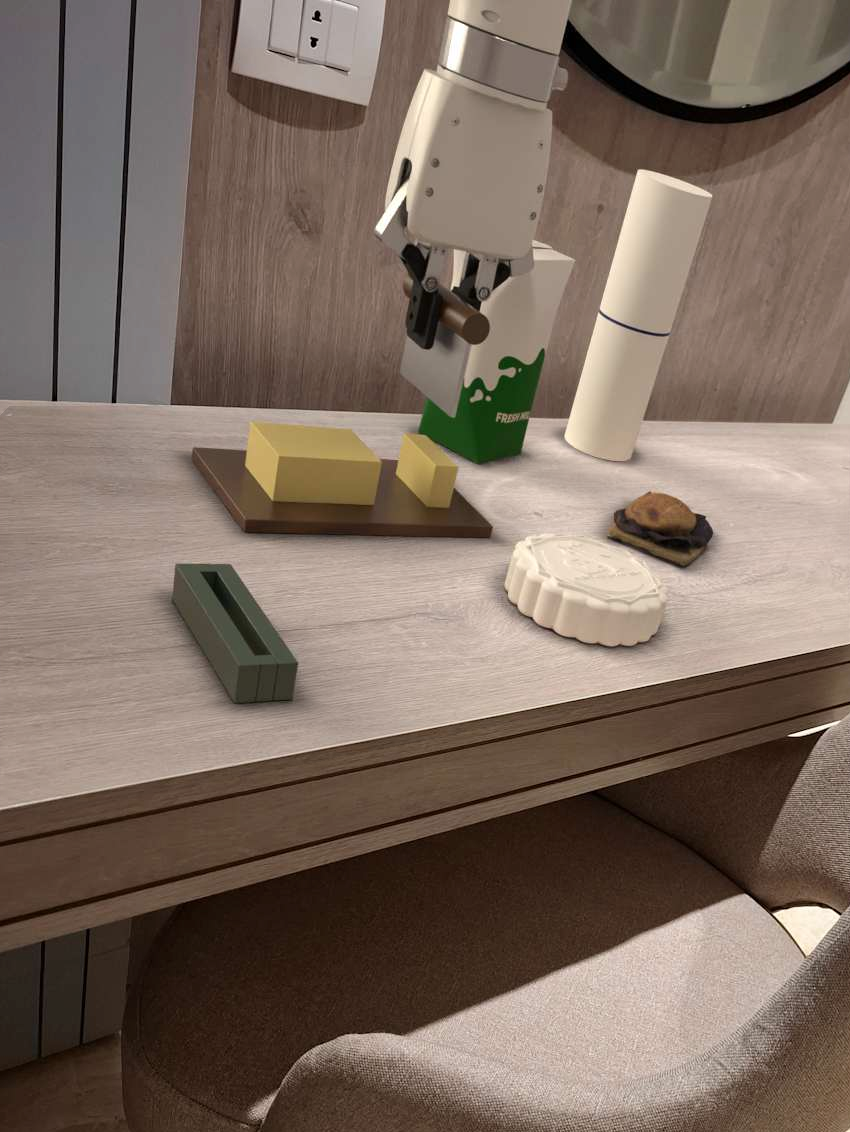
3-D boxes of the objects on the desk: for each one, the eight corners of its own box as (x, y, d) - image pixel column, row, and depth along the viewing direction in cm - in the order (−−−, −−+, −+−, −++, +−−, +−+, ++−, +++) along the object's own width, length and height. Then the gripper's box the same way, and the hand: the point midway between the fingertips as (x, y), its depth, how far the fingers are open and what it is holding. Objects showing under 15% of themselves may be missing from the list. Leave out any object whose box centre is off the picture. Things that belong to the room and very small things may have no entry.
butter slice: (426, 507, 93) (436, 465, 91) (395, 474, 97) (403, 433, 95) (449, 508, 94) (458, 466, 92) (417, 475, 98) (425, 434, 96)
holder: (234, 703, 66) (239, 665, 64) (171, 599, 73) (175, 562, 71) (293, 700, 68) (299, 662, 66) (226, 598, 75) (230, 563, 73)
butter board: (244, 532, 83) (245, 519, 82) (191, 459, 90) (192, 446, 89) (490, 537, 94) (493, 526, 94) (426, 472, 102) (428, 461, 101)
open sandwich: (687, 573, 101) (702, 534, 99) (598, 535, 102) (610, 495, 100) (717, 538, 110) (731, 501, 107) (634, 503, 110) (646, 466, 108)
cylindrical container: (555, 441, 118) (628, 170, 105) (576, 426, 124) (649, 168, 111) (620, 467, 118) (703, 198, 104) (639, 450, 124) (719, 194, 110)
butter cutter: (442, 418, 86) (466, 311, 82) (386, 369, 93) (405, 267, 89) (468, 421, 88) (493, 315, 84) (411, 372, 94) (431, 272, 90)
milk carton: (460, 419, 115) (509, 200, 104) (534, 457, 113) (593, 237, 102) (403, 429, 108) (449, 196, 97) (481, 470, 106) (537, 235, 95)
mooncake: (590, 563, 96) (603, 523, 94) (688, 639, 90) (703, 597, 88) (472, 573, 88) (483, 529, 86) (570, 656, 82) (584, 611, 80)
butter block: (272, 501, 86) (278, 455, 84) (244, 465, 89) (250, 421, 87) (374, 505, 90) (382, 462, 88) (343, 471, 94) (350, 428, 92)
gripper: (567, 85, 85) (503, 341, 95) (362, 21, 76) (315, 312, 86) (622, 111, 81) (549, 377, 91) (412, 47, 71) (356, 351, 81)
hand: (436, 343), depth 88 cm, fingers closed on butter cutter, 2 cm apart
